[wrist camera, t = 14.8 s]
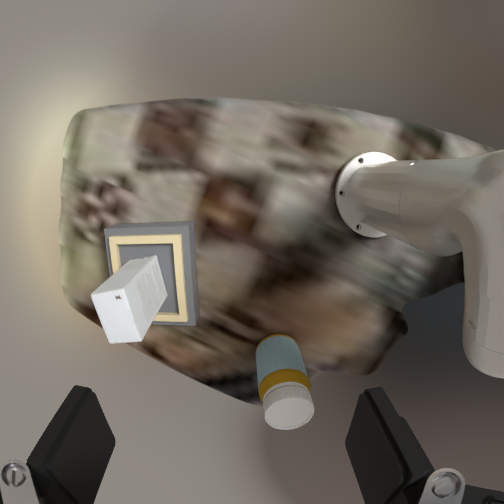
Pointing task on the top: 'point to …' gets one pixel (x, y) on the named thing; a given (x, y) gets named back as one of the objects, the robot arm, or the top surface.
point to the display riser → (161, 263)
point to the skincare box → (130, 300)
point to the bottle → (283, 383)
